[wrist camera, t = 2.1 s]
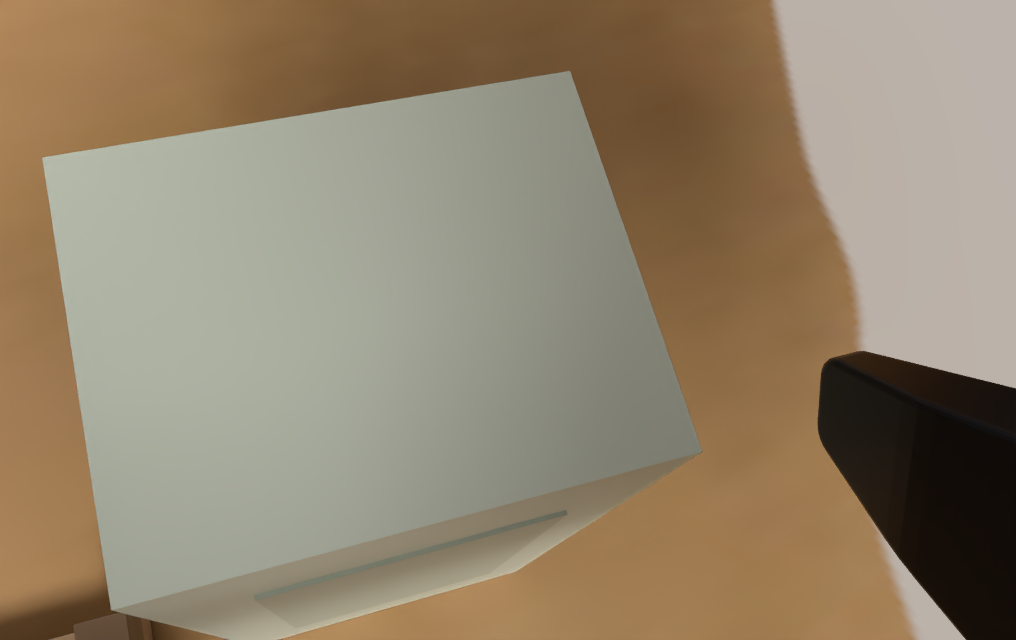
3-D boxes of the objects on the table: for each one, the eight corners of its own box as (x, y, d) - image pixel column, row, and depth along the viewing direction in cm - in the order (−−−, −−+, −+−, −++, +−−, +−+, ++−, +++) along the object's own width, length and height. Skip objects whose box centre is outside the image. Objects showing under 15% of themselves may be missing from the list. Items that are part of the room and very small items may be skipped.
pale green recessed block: (515, 575, 19) (704, 457, 8) (256, 649, 18) (112, 617, 7) (461, 377, 20) (567, 66, 10) (214, 435, 19) (42, 152, 9)
